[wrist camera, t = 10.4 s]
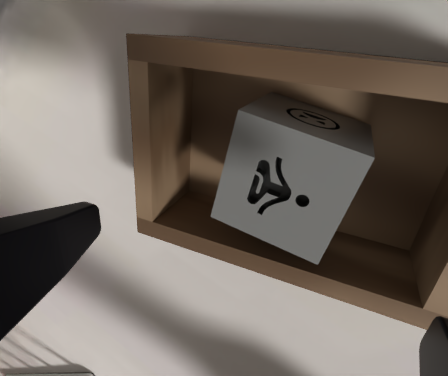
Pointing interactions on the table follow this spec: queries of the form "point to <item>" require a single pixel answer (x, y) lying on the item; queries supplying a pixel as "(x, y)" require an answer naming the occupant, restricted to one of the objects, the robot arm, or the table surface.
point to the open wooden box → (323, 98)
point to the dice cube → (292, 173)
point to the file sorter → (73, 375)
